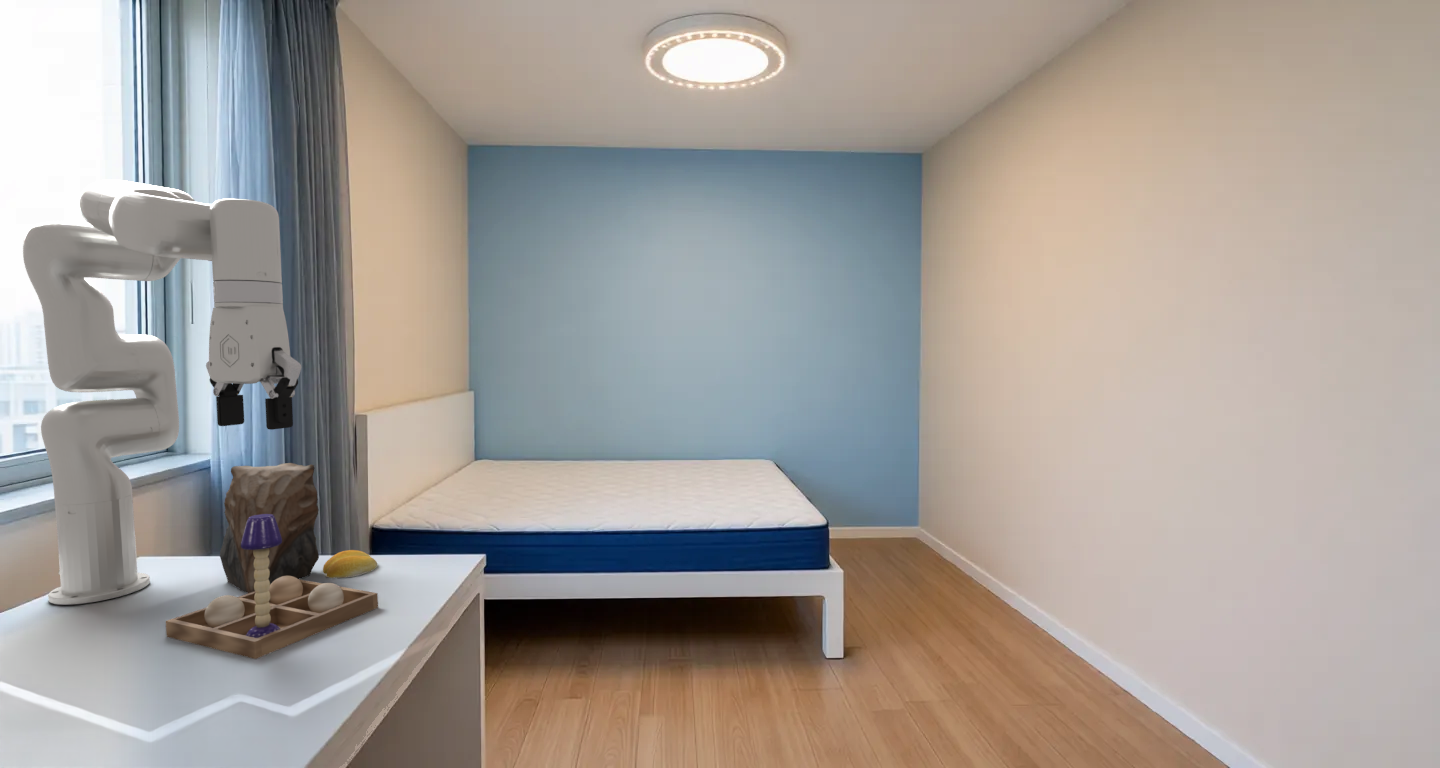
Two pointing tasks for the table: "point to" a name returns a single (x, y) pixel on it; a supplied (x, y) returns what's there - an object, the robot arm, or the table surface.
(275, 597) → the egg
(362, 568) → the bread roll
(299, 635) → the organizer
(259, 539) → the toy lamp
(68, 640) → the table surface
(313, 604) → the egg
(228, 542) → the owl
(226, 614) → the egg
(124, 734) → the table surface
